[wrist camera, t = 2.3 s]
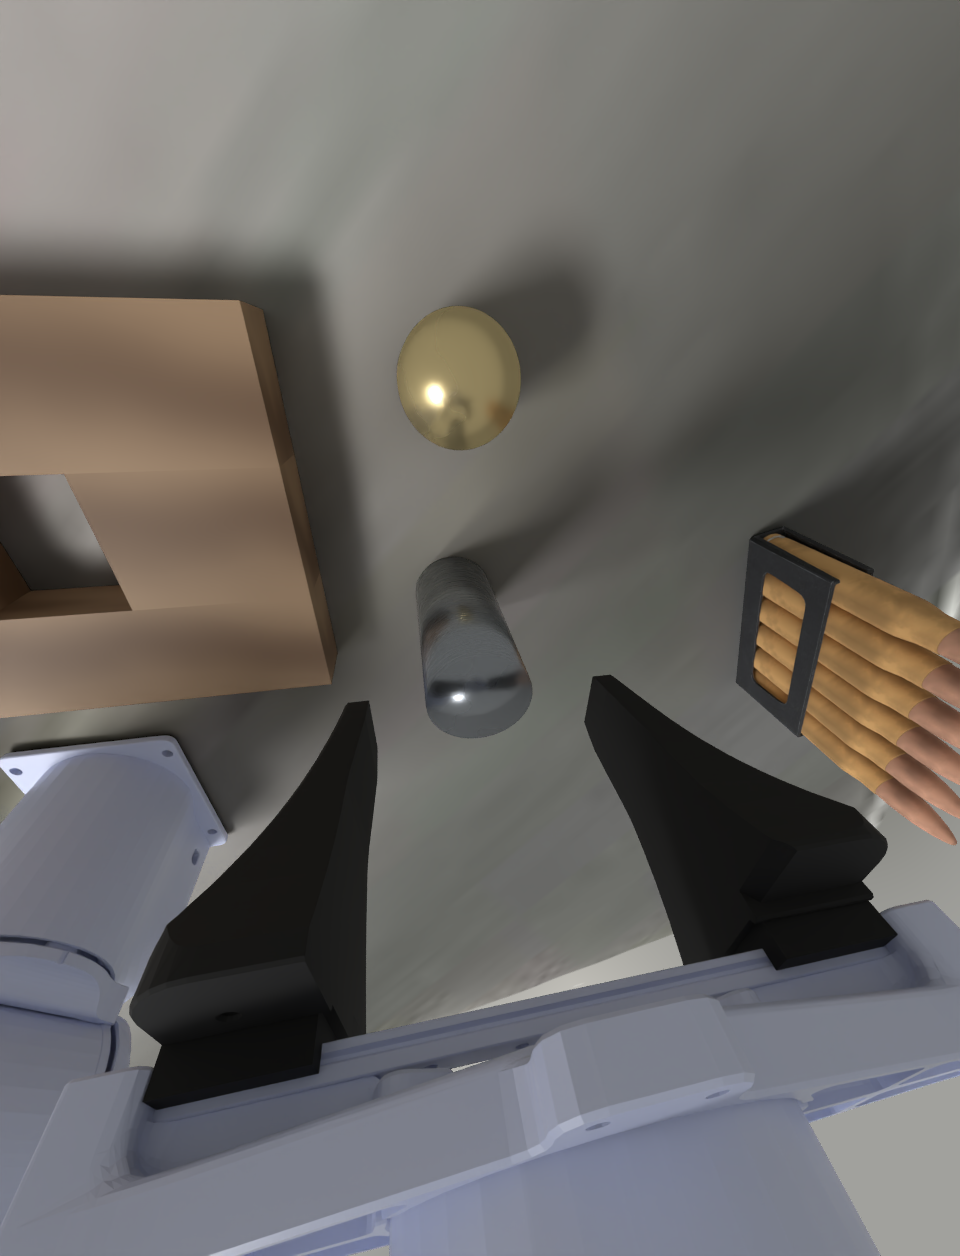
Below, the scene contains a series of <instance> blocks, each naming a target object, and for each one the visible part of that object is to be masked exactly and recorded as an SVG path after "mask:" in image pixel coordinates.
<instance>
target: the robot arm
mask: <svg viewBox="0 0 960 1256" xmlns="http://www.w3.org/2000/svg"><path fill="white" fill-rule="evenodd" d="M584 722H585V725H586V728H587V731H588V734H589V737H590V739H591V742H592V744H593V747H594V750H595V752H596V754H597V756H598V758H599V759H600V761H601V763H602V765H603V767H604V769H605V771H606V773H607V775H608V777H609V779H610V780H611V782H612V784H613V786H614V788H615V790H616V792H617V794H618V795H619V797H620V799H621V801H622V803H623V805H624V807H625V809H626V811H627V813H628V815H629V817H630V819H631V821H632V823H633V826H634V828H635V831H636V833H637V835H638V838H639V840H640V843H641V845H642V848H643V850H644V853H645V855H646V858H647V860H648V863H649V866H650V868H651V871H652V874H653V876H654V879H655V881H656V884H657V887H658V890H659V893H660V895H661V898H662V901H663V904H664V907H665V910H666V913H667V915H668V918H669V921H670V924H671V927H672V931H673V934H674V937H675V940H676V943H677V946H678V949H679V952H680V955H681V958H682V961H683V965H684V966H680V967H675V968H670V969H666V970H661V971H656V972H652V973H647V974H642V975H637V976H633V977H628V978H624V979H619V980H614V981H610V982H605V983H600V984H596V985H592V986H586V987H582V988H578V989H572V990H568V991H563V992H559V993H554V994H549V995H545V996H540V997H535V998H531V999H526V1000H521V1001H517V1002H512V1003H508V1004H503V1005H498V1006H494V1007H489V1008H484V1009H480V1010H475V1011H471V1012H466V1013H461V1014H456V1015H452V1016H447V1017H443V1018H438V1019H433V1020H429V1021H424V1022H419V1023H415V1024H410V1025H405V1026H401V1027H396V1028H392V1029H387V1030H382V1031H378V1032H373V1033H368V1034H366V913H367V870H368V855H369V845H370V836H371V828H372V820H373V811H374V803H375V794H376V786H377V742H376V737H375V732H374V726H373V721H372V715H371V710H370V704H369V701H361V702H352V703H348V704H347V705H346V706H345V708H344V710H343V712H342V714H341V716H340V718H339V720H338V722H337V724H336V726H335V728H334V730H333V732H332V734H331V736H330V738H329V739H328V741H327V743H326V744H325V746H324V748H323V750H322V751H321V753H320V755H319V756H318V758H317V760H316V761H315V763H314V764H313V766H312V767H311V769H310V770H309V772H308V773H307V775H306V776H305V778H304V779H303V781H302V782H301V784H300V785H299V787H298V788H297V789H296V791H295V792H294V794H293V795H292V796H291V798H290V799H289V800H288V802H287V803H286V804H285V805H284V807H283V808H282V809H281V811H280V812H279V813H278V814H277V816H276V817H275V818H274V819H273V820H272V821H271V823H270V824H269V825H268V826H267V827H266V829H265V830H264V831H263V832H262V833H261V834H260V836H259V837H258V838H257V839H256V840H255V841H254V842H253V843H252V844H251V845H250V847H249V848H248V849H247V850H246V851H245V852H244V853H243V854H242V855H241V856H240V857H239V858H238V859H237V860H236V861H235V862H234V863H233V864H232V865H231V866H230V867H229V868H228V869H227V870H226V871H225V872H224V873H223V874H222V875H221V876H220V877H219V878H218V879H217V880H216V881H215V882H214V883H213V884H212V885H211V886H210V887H209V888H208V889H207V890H205V891H204V892H203V893H202V894H201V895H200V896H199V897H198V898H196V899H195V900H194V901H193V902H192V903H191V904H190V905H189V906H188V907H187V905H188V902H189V899H190V897H191V894H192V892H193V889H194V886H195V884H196V881H197V879H198V876H199V873H200V871H201V868H202V866H203V863H204V860H205V858H206V855H207V853H208V850H209V847H211V846H218V845H222V844H224V843H226V841H227V838H228V834H227V832H226V831H225V829H224V827H223V825H222V823H221V821H220V820H219V818H218V816H217V814H216V812H215V810H214V808H213V807H212V805H211V803H210V801H209V799H208V797H207V796H206V794H205V792H204V790H203V788H202V786H201V784H200V783H199V781H198V779H197V777H196V775H195V773H194V772H193V770H192V768H191V766H190V764H189V762H188V760H187V759H186V757H185V755H184V753H183V751H182V749H181V748H180V746H179V744H178V742H177V740H176V739H175V738H173V737H171V736H168V735H162V736H153V737H144V738H136V739H127V740H118V741H109V742H100V743H91V744H83V745H74V746H65V747H56V748H47V749H38V750H29V751H21V752H12V753H7V754H5V755H3V756H2V757H1V758H0V767H1V768H2V769H3V770H4V772H5V773H6V774H7V775H8V776H9V777H10V778H11V779H12V780H13V782H14V783H15V784H16V785H17V786H18V787H19V788H20V789H21V790H22V792H23V793H24V794H25V796H24V797H23V798H22V799H21V801H20V802H19V803H18V804H17V805H16V806H15V808H14V809H13V810H12V811H11V812H10V813H9V815H8V816H7V817H6V818H5V819H4V820H3V821H2V823H1V824H0V1256H349V1255H353V1254H357V1253H361V1252H365V1251H368V1250H372V1249H377V1248H380V1247H384V1246H388V1245H389V1250H390V1251H389V1254H390V1255H389V1256H881V1255H880V1253H879V1251H878V1249H877V1248H876V1246H875V1244H874V1242H873V1240H872V1238H871V1236H870V1235H869V1233H868V1231H867V1229H866V1227H865V1225H864V1224H863V1222H862V1220H861V1218H860V1216H859V1214H858V1213H857V1211H856V1209H855V1207H854V1205H853V1203H852V1201H851V1199H850V1198H849V1196H848V1194H847V1192H846V1190H845V1188H844V1187H843V1185H842V1183H841V1181H840V1179H839V1178H838V1176H837V1174H836V1172H835V1171H834V1168H833V1166H832V1165H831V1163H830V1161H829V1159H828V1157H827V1155H826V1153H825V1151H824V1150H823V1148H822V1146H821V1144H820V1142H819V1140H818V1139H817V1137H816V1135H815V1133H814V1131H813V1129H812V1127H811V1126H810V1124H809V1123H811V1122H814V1121H817V1120H820V1119H823V1118H826V1117H829V1116H832V1115H836V1114H838V1113H842V1112H845V1111H848V1110H851V1109H854V1108H857V1107H860V1106H864V1105H867V1104H870V1103H873V1102H876V1101H879V1100H882V1099H886V1098H889V1097H892V1096H895V1095H898V1094H902V1093H905V1092H908V1091H911V1090H914V1089H917V1088H921V1087H924V1086H927V1085H931V1084H934V1083H937V1082H941V1081H944V1080H947V1079H951V1078H954V1077H958V1076H960V929H959V927H958V926H957V925H956V924H955V923H954V922H953V921H952V920H951V919H950V918H949V917H948V916H947V915H946V914H945V913H944V912H943V911H942V910H941V909H940V908H939V907H938V906H937V905H936V904H935V903H934V902H933V901H929V900H924V901H919V902H914V903H909V904H905V905H900V906H896V907H892V908H889V909H887V910H884V911H882V912H881V913H879V912H878V911H877V910H876V909H875V908H874V906H873V905H872V904H871V903H870V902H869V900H872V898H873V893H872V892H871V891H870V890H869V889H868V888H867V886H866V885H865V884H864V883H863V882H862V880H863V879H864V878H865V877H866V876H867V875H868V874H869V873H870V872H871V870H873V868H874V867H875V866H876V865H877V864H878V863H879V862H880V861H881V860H882V858H883V857H884V856H885V854H886V851H887V848H888V846H887V845H888V844H887V840H886V838H885V837H884V836H883V835H882V834H881V833H880V832H879V831H878V830H877V829H876V828H875V827H874V826H873V825H872V824H871V823H870V822H869V821H867V820H866V819H865V818H864V817H863V816H862V815H861V814H860V813H859V812H858V811H857V810H856V809H855V808H854V807H851V806H848V805H845V804H842V803H840V802H837V801H834V800H831V799H828V798H826V797H823V796H820V795H817V794H814V793H812V792H809V791H806V790H804V789H801V788H799V787H797V786H794V785H792V784H789V783H787V782H784V781H782V780H780V779H777V778H775V777H773V776H771V775H768V774H766V773H764V772H762V771H760V770H758V769H756V768H754V767H752V766H749V765H747V764H745V763H743V762H741V761H739V760H737V759H735V758H734V757H732V756H730V755H728V754H726V753H724V752H722V751H721V750H719V749H717V748H715V747H714V746H712V745H710V744H708V743H707V742H705V741H703V740H702V739H700V738H698V737H697V736H695V735H693V734H692V733H690V732H689V731H687V730H686V729H684V728H683V727H681V726H680V725H678V724H677V723H675V722H674V721H672V720H671V719H669V718H668V717H667V716H665V715H664V714H662V713H661V712H660V711H658V710H657V709H655V708H654V707H653V706H651V705H650V704H649V703H647V702H646V701H645V700H643V699H642V698H641V697H639V696H638V695H637V694H635V693H634V692H633V691H632V690H630V689H629V688H628V687H626V686H625V685H624V684H622V683H621V682H620V681H618V680H617V679H616V678H614V677H613V676H611V675H603V676H594V677H593V678H592V684H591V689H590V694H589V700H588V705H587V711H586V716H585V721H584ZM168 750H169V751H168ZM133 995H134V996H133ZM132 996H133V999H132V1001H131V1004H130V1008H129V1014H130V1016H131V1018H132V1019H133V1021H134V1022H135V1023H136V1025H137V1026H139V1027H140V1028H141V1029H142V1030H144V1031H145V1032H146V1033H147V1034H149V1035H150V1036H151V1037H153V1038H154V1039H155V1040H156V1041H158V1042H159V1043H160V1044H161V1045H162V1046H161V1049H160V1052H159V1055H158V1058H157V1061H156V1064H155V1067H154V1068H153V1067H149V1066H137V1067H129V1065H130V1053H131V1032H130V1027H129V1025H128V1023H127V1021H126V1020H124V1019H123V1018H122V1017H120V1016H118V1014H119V1012H120V1010H121V1007H122V1005H123V1003H125V1002H126V1001H127V1000H128V999H130V998H131V997H132ZM486 1060H488V1061H486ZM482 1061H485V1062H482ZM478 1062H482V1063H480V1064H477V1065H473V1066H470V1067H468V1068H465V1069H462V1070H459V1071H456V1072H453V1071H452V1070H451V1069H452V1068H456V1067H460V1066H464V1065H469V1064H473V1063H478Z"/></svg>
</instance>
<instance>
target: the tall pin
mask: <svg viewBox="0 0 960 1256" xmlns="http://www.w3.org/2000/svg"><path fill="white" fill-rule="evenodd" d="M416 599H417V610H418V622H419V633H420V644H421V655H422V667H423V678H424V689H425V701H426V709H427V713H428V715H429V717H430V719H431V721H432V722H433V723H434V724H435V725H436V726H437V727H438V728H439V729H441V730H442V731H444V732H446V733H448V734H450V735H453V736H456V737H461V738H482V737H487V736H491V735H494V734H497V733H499V732H501V731H504V730H506V729H507V728H509V727H510V726H512V725H513V724H515V723H516V722H517V721H518V720H519V719H520V718H521V717H522V716H523V715H524V713H525V712H526V710H527V709H528V707H529V705H530V702H531V699H532V683H531V680H530V678H529V675H528V673H527V671H526V668H525V666H524V664H523V661H522V659H521V657H520V654H519V652H518V650H517V647H516V645H515V643H514V640H513V638H512V635H511V633H510V631H509V628H508V626H507V624H506V621H505V619H504V617H503V614H502V612H501V610H500V607H499V605H498V603H497V600H496V598H495V596H494V593H493V591H492V589H491V586H490V584H489V582H488V579H487V577H486V575H485V573H484V572H483V570H482V569H481V568H480V567H479V566H478V565H477V564H475V563H474V562H472V561H470V560H468V559H465V558H460V557H449V558H444V559H440V560H438V561H436V562H434V563H432V564H431V565H429V566H428V567H427V568H426V569H425V570H424V571H423V573H422V574H421V576H420V577H419V580H418V582H417V586H416Z"/></svg>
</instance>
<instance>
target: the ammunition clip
mask: <svg viewBox="0 0 960 1256" xmlns="http://www.w3.org/2000/svg"><path fill="white" fill-rule="evenodd" d="M873 572H874V569H872V568H870V567H868V566H866V565H864V564H862V563H860V562H858V561H856V560H854V559H851V558H849V557H847V556H845V555H843V554H841V553H839V552H837V551H835V550H832V549H830V548H828V547H826V546H824V545H822V544H820V543H818V542H816V541H814V540H811V539H809V538H807V537H805V536H803V535H801V534H799V533H797V532H795V531H792V530H790V529H788V528H786V527H781V528H778V529H775V530H772V531H769V532H766V533H763V534H760V535H757V536H754V537H753V538H752V539H750V540H749V551H748V561H747V572H746V582H745V593H744V603H743V614H742V624H741V635H740V645H739V656H738V666H737V677H736V683H737V684H738V685H739V686H741V687H742V688H743V689H744V690H745V691H746V692H747V693H748V694H750V695H751V696H752V697H753V698H754V699H755V700H756V701H757V702H759V703H760V704H761V705H762V706H763V707H764V708H765V709H766V710H768V711H769V712H770V713H771V714H772V715H773V716H774V717H775V718H777V719H778V720H779V721H780V722H781V723H782V724H783V725H784V726H786V727H787V728H788V729H789V730H790V731H791V732H792V733H793V734H795V735H796V736H797V737H801V736H803V735H804V736H805V737H807V738H808V739H809V740H810V741H811V742H812V743H813V744H814V745H815V746H817V747H818V748H819V749H820V750H821V751H822V752H823V753H824V754H826V755H827V756H828V757H829V758H830V759H831V760H832V761H833V762H834V763H836V764H837V765H838V766H839V767H840V768H841V769H842V770H844V771H845V772H847V773H848V774H850V775H851V776H853V777H854V778H856V779H857V780H859V781H860V782H861V783H863V784H864V785H865V786H866V787H867V788H869V789H870V790H871V791H872V792H873V793H875V794H877V795H878V796H879V797H880V798H881V799H883V800H884V801H885V802H886V803H887V804H888V805H890V806H891V807H892V808H893V809H894V810H896V811H897V812H898V813H900V814H901V815H902V816H904V817H905V818H906V819H908V820H909V821H911V822H912V823H913V824H915V825H916V826H918V827H919V828H921V829H922V830H924V831H926V832H928V833H929V834H931V835H932V836H934V837H936V838H938V839H940V840H942V841H944V842H946V843H948V844H951V845H956V844H957V841H956V839H955V837H954V835H953V833H952V832H951V831H950V829H949V827H948V826H947V825H946V824H945V823H944V821H943V820H942V819H941V817H940V816H939V815H938V814H937V813H936V812H935V811H934V810H933V809H932V807H930V805H929V804H927V803H926V802H925V801H924V800H923V799H925V800H926V801H928V802H929V803H931V804H933V805H934V806H936V807H938V808H940V809H941V810H943V811H945V812H947V813H949V814H951V815H953V816H955V817H957V818H959V819H960V798H959V797H958V796H957V795H956V794H955V793H954V792H953V791H952V789H950V788H949V787H948V785H947V784H946V783H945V782H943V781H942V780H941V779H940V778H939V777H938V776H937V775H936V774H935V773H933V772H932V771H931V770H930V769H932V770H933V771H935V772H936V773H938V774H940V775H942V776H943V777H945V778H947V779H949V780H951V781H953V782H954V783H956V784H958V785H960V755H959V754H958V753H956V752H955V751H954V750H953V749H952V748H950V747H949V746H948V745H947V744H945V743H944V742H943V741H942V740H940V739H939V738H941V739H943V740H944V741H946V742H948V743H950V744H951V745H953V746H955V747H957V748H959V749H960V712H958V711H957V710H955V709H954V708H952V707H950V706H949V705H947V704H946V703H944V702H942V701H941V700H939V699H938V698H937V697H939V698H941V699H943V700H944V701H946V702H948V703H950V704H952V705H954V706H956V707H958V708H960V669H959V668H957V667H955V666H954V665H952V663H950V662H949V661H947V660H945V659H943V658H942V657H940V656H938V655H942V656H944V657H946V658H948V659H950V660H952V661H954V662H956V663H958V664H960V621H958V620H956V619H954V618H952V617H950V616H948V615H947V614H945V613H944V612H942V611H941V610H940V609H938V608H937V607H935V606H934V605H933V604H931V603H930V602H928V601H926V600H924V599H922V598H920V597H918V596H915V595H913V594H911V593H909V592H906V591H904V590H902V589H900V588H898V587H895V586H893V585H891V584H889V583H887V582H884V581H882V580H880V579H878V578H875V577H873ZM933 652H934V653H933ZM935 653H936V654H935ZM937 654H938V655H937ZM930 692H931V693H930ZM933 694H934V695H933ZM935 695H936V696H937V697H936V696H935ZM930 732H931V733H930ZM933 734H934V735H933ZM935 735H936V736H937V737H936V736H935ZM938 737H939V738H938ZM926 766H927V767H926ZM929 768H930V769H929ZM922 798H923V799H922Z"/></svg>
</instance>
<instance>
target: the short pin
mask: <svg viewBox="0 0 960 1256" xmlns="http://www.w3.org/2000/svg"><path fill="white" fill-rule="evenodd" d="M397 384H398V391H399V396H400V400H401V403H402V406H403V408H404V411H405V413H406V415H407V416H408V418H409V420H410V421H411V423H412V424H413V426H414V427H415V428H416V429H417V430H418V431H419V433H421V434H422V435H423V436H424V437H425V438H426V439H428V440H429V441H431V442H432V443H434V444H436V445H438V446H441V447H444V448H447V449H452V450H469V449H473V448H477V447H480V446H482V445H484V444H486V443H488V442H490V441H491V440H492V439H494V438H495V437H496V436H497V435H498V434H499V433H500V432H501V431H502V430H503V429H504V428H505V427H506V425H507V424H508V422H509V421H510V419H511V418H512V415H513V413H514V411H515V409H516V406H517V403H518V399H519V394H520V386H521V372H520V364H519V360H518V356H517V353H516V350H515V348H514V345H513V343H512V341H511V339H510V338H509V336H508V335H507V333H506V332H505V330H504V329H503V328H502V327H501V326H500V325H499V323H497V322H496V321H495V320H494V319H493V318H492V317H490V316H489V315H487V314H485V313H484V312H482V311H479V310H477V309H474V308H470V307H465V306H449V307H445V308H441V309H439V310H436V311H434V312H432V313H430V314H429V315H427V316H426V317H424V318H423V319H422V320H421V321H420V322H419V323H418V324H417V325H416V326H415V327H414V328H413V329H412V331H411V332H410V334H409V335H408V337H407V339H406V341H405V343H404V345H403V347H402V350H401V352H400V355H399V359H398V364H397Z"/></svg>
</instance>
